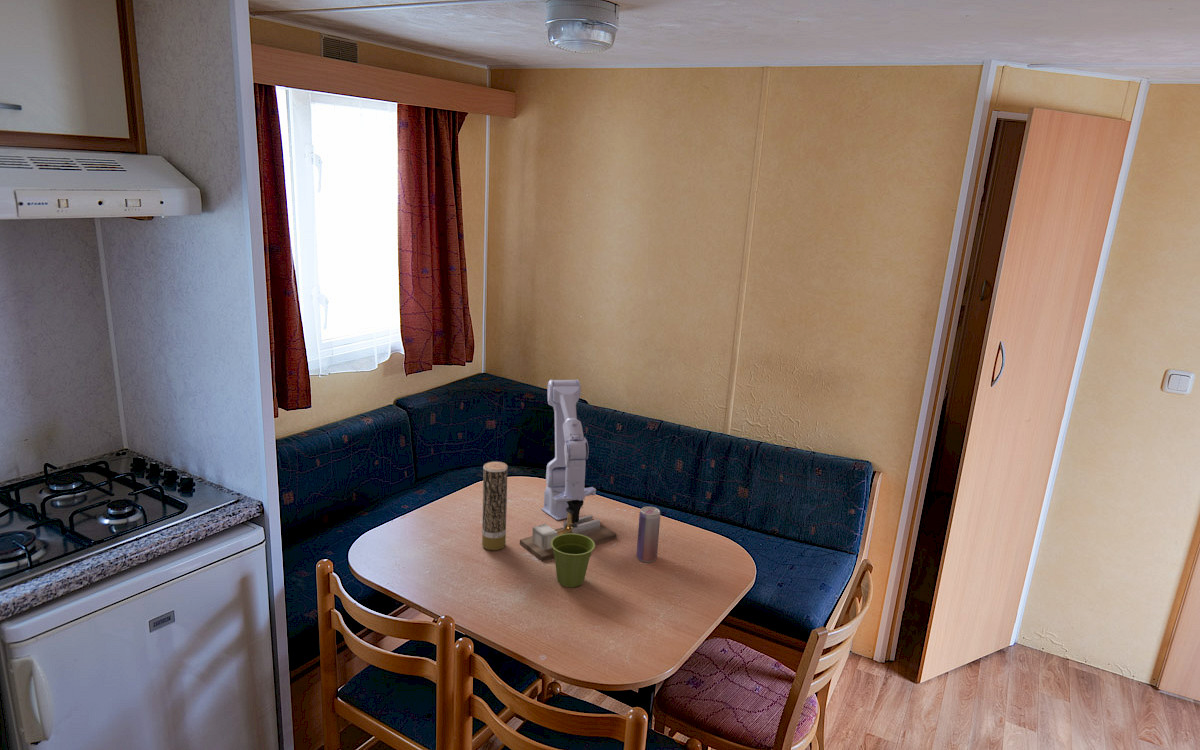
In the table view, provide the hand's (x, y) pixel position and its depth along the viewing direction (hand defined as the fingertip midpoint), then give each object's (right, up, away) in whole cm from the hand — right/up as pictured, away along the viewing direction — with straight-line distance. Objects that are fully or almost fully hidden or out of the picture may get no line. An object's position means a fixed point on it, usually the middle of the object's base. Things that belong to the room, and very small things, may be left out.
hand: (573, 521), depth 223 cm
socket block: (-8, -6, -5) cm, 11 cm away
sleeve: (+2, -4, +3) cm, 6 cm away
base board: (-1, -6, +1) cm, 6 cm away
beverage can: (+21, -10, -6) cm, 24 cm away
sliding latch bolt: (-5, -5, -2) cm, 7 cm away
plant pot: (0, -12, -21) cm, 24 cm away
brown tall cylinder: (-23, -6, -4) cm, 24 cm away
